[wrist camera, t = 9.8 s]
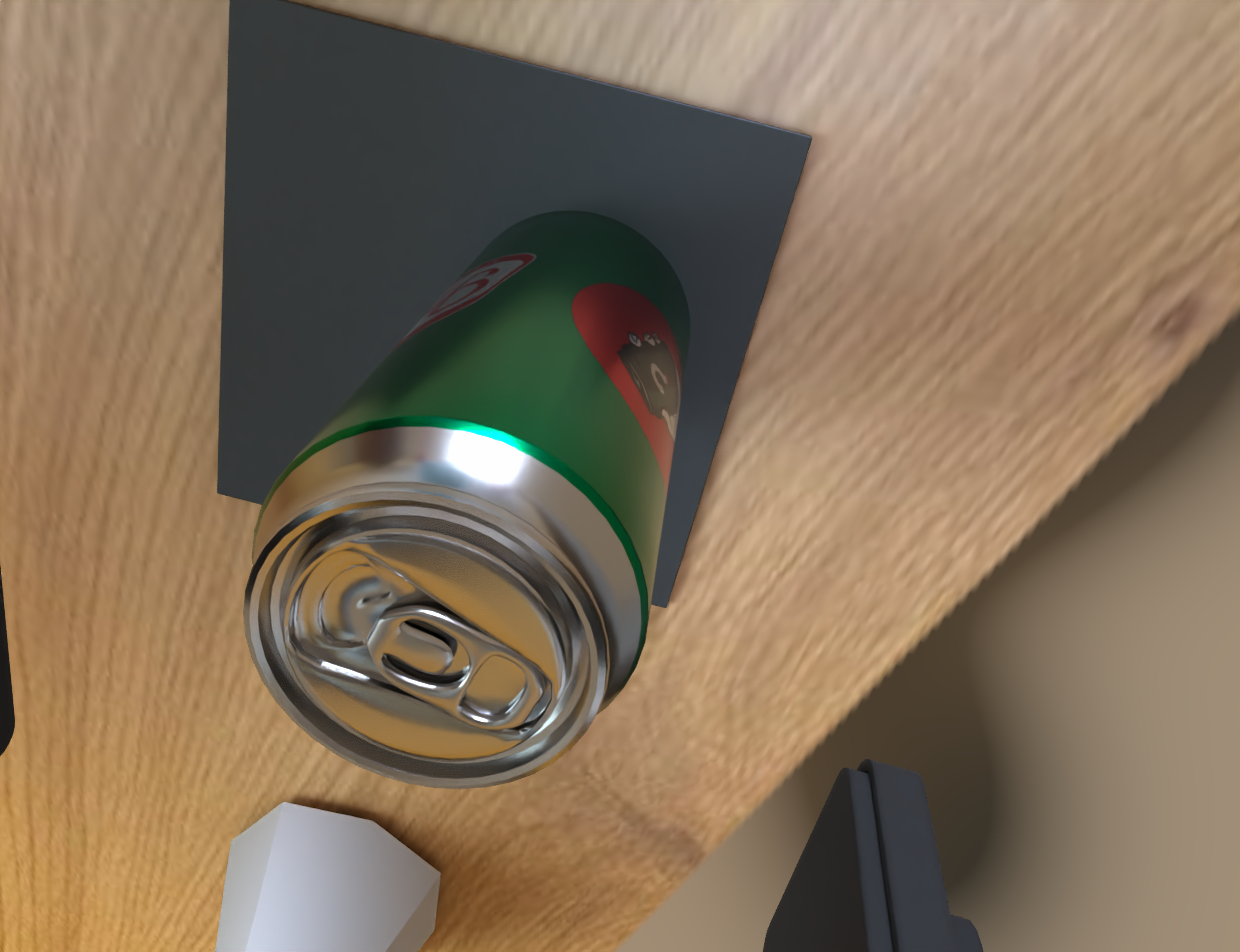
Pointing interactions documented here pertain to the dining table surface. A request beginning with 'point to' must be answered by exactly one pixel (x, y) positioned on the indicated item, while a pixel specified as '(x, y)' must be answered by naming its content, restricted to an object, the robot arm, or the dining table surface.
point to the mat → (458, 219)
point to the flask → (324, 887)
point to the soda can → (482, 516)
